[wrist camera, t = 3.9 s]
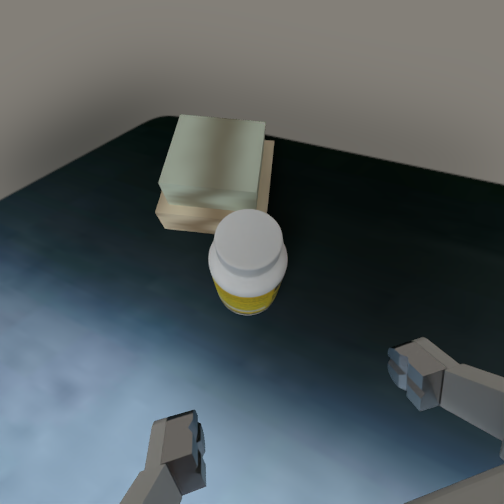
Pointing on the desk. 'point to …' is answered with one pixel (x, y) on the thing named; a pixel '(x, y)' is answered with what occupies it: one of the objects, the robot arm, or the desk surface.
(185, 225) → the two-tone square platform
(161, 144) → the desk surface
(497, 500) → the robot arm
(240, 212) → the supplement bottle
